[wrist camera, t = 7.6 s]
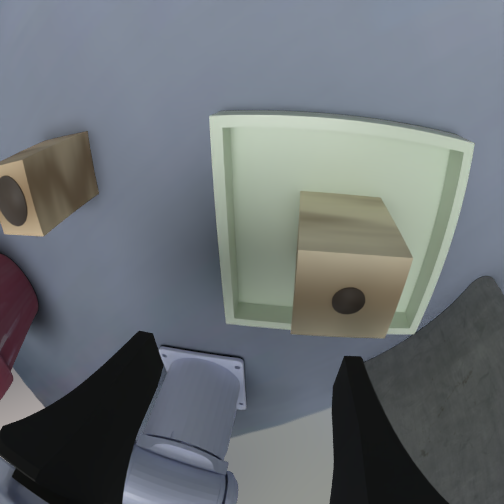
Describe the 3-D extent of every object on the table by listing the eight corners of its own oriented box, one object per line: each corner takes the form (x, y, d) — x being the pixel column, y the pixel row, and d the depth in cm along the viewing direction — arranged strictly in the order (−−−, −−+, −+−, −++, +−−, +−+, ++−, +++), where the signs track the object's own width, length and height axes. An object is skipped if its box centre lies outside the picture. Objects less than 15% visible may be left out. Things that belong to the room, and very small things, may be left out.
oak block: (99, 193, 19) (42, 237, 14) (57, 195, 19) (3, 234, 14) (87, 131, 16) (21, 160, 11) (45, 140, 17) (-16, 170, 12)
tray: (407, 312, 20) (414, 334, 18) (232, 302, 22) (226, 323, 20) (455, 134, 13) (474, 143, 11) (221, 111, 15) (209, 115, 13)
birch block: (367, 265, 18) (385, 339, 13) (295, 260, 18) (290, 335, 13) (380, 197, 15) (414, 259, 10) (300, 191, 16) (298, 251, 11)
